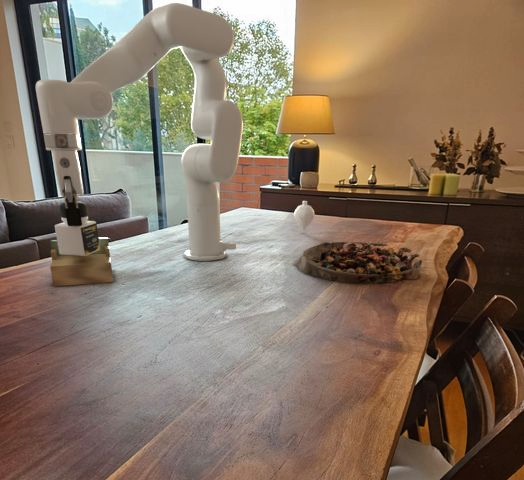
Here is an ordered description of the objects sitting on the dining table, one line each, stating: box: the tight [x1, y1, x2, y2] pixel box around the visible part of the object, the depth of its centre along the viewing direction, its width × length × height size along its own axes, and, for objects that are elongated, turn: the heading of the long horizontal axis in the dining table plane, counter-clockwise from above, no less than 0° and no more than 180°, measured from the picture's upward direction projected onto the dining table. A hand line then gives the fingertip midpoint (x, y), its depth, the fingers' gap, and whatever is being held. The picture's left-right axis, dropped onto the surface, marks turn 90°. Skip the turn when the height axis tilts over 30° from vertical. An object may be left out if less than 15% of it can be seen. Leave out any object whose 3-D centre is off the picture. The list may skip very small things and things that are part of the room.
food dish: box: [293, 241, 423, 284], centre depth 129 cm, size 35×33×8 cm
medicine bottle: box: [54, 201, 100, 256], centre depth 111 cm, size 7×7×12 cm
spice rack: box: [49, 237, 114, 287], centre depth 116 cm, size 14×11×9 cm
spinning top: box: [293, 200, 315, 234], centre depth 173 cm, size 8×8×12 cm
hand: (75, 222), depth 111 cm, fingers closed on medicine bottle, 7 cm apart
